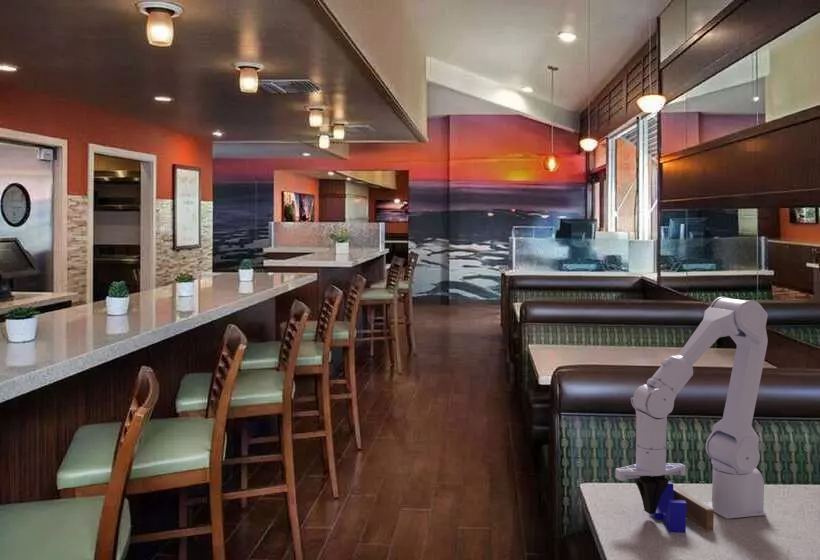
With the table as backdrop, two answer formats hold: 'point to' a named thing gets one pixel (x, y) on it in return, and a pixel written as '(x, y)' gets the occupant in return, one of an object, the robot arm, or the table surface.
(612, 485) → the table surface
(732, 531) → the table surface
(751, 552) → the table surface
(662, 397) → the robot arm
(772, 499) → the table surface
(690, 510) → the bar
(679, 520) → the cable clip
